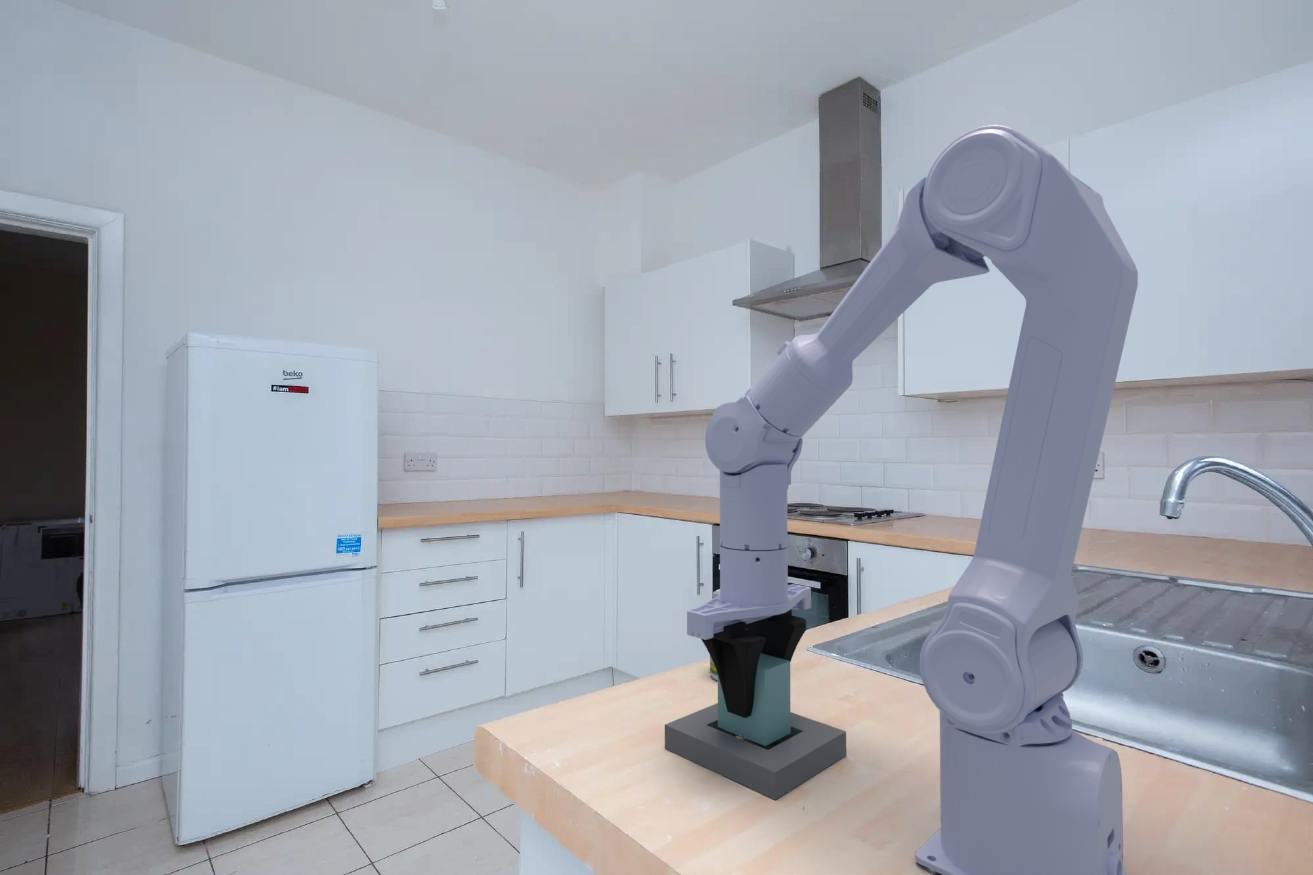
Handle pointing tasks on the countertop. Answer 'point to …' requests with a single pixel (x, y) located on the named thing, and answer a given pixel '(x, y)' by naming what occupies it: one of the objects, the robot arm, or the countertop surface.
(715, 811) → the countertop surface
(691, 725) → the socket plate
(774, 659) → the plug
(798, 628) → the robot arm
